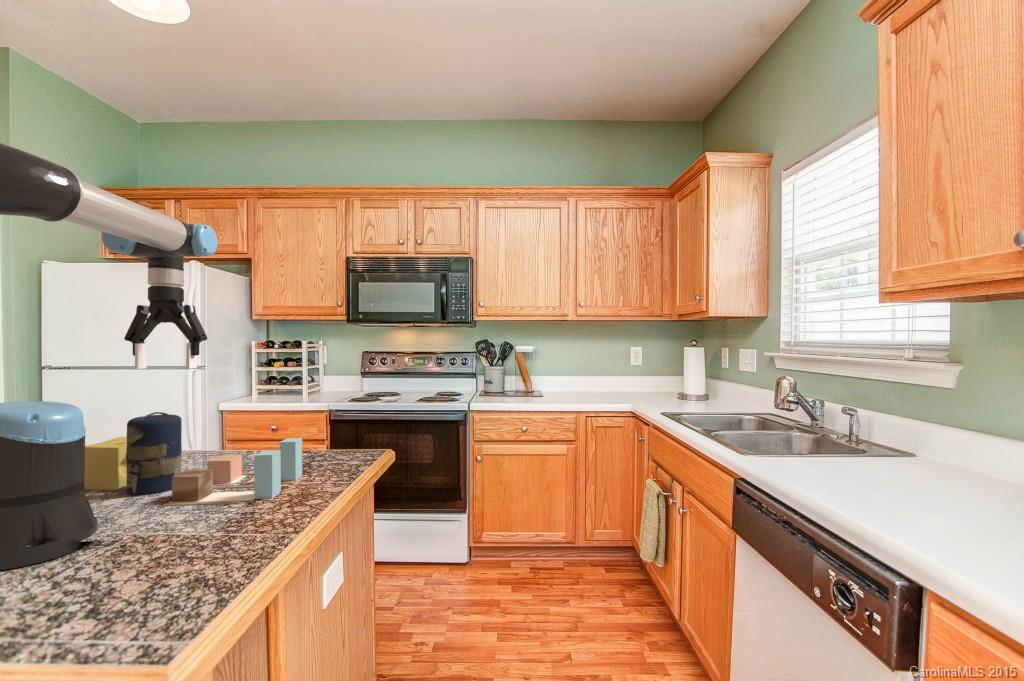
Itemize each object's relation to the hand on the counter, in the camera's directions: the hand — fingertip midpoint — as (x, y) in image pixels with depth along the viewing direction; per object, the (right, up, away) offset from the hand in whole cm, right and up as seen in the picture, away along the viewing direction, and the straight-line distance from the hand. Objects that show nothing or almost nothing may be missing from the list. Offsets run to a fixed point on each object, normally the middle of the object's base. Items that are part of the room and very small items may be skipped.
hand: (166, 368), depth 119 cm
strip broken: (+30, -26, -13) cm, 42 cm away
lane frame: (+28, -26, -19) cm, 43 cm away
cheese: (-3, -27, -11) cm, 29 cm away
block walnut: (+24, -25, -25) cm, 43 cm away
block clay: (+24, -25, -13) cm, 37 cm away
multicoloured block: (+31, -26, -25) cm, 47 cm away
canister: (+12, -27, -19) cm, 35 cm away
